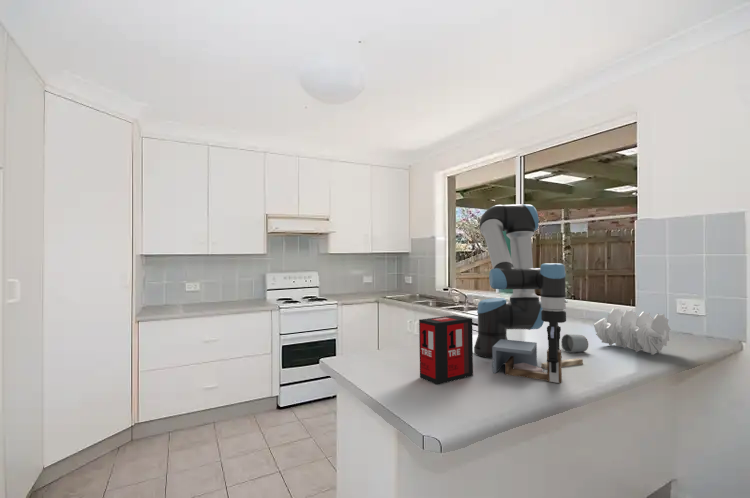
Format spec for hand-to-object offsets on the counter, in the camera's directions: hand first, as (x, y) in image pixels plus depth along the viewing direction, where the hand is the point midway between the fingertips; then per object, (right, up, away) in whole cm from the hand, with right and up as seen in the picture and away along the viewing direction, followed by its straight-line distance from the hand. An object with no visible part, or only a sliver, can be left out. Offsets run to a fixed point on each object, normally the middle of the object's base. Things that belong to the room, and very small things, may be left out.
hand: (554, 379), depth 126 cm
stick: (+11, -1, +17) cm, 20 cm away
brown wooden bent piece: (-4, 0, +7) cm, 8 cm away
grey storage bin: (-9, -1, +12) cm, 15 cm away
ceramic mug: (+26, -1, +38) cm, 46 cm away
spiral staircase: (+53, -1, +39) cm, 65 cm away
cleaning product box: (-35, -1, +5) cm, 36 cm away
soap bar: (-5, -1, +10) cm, 11 cm away
